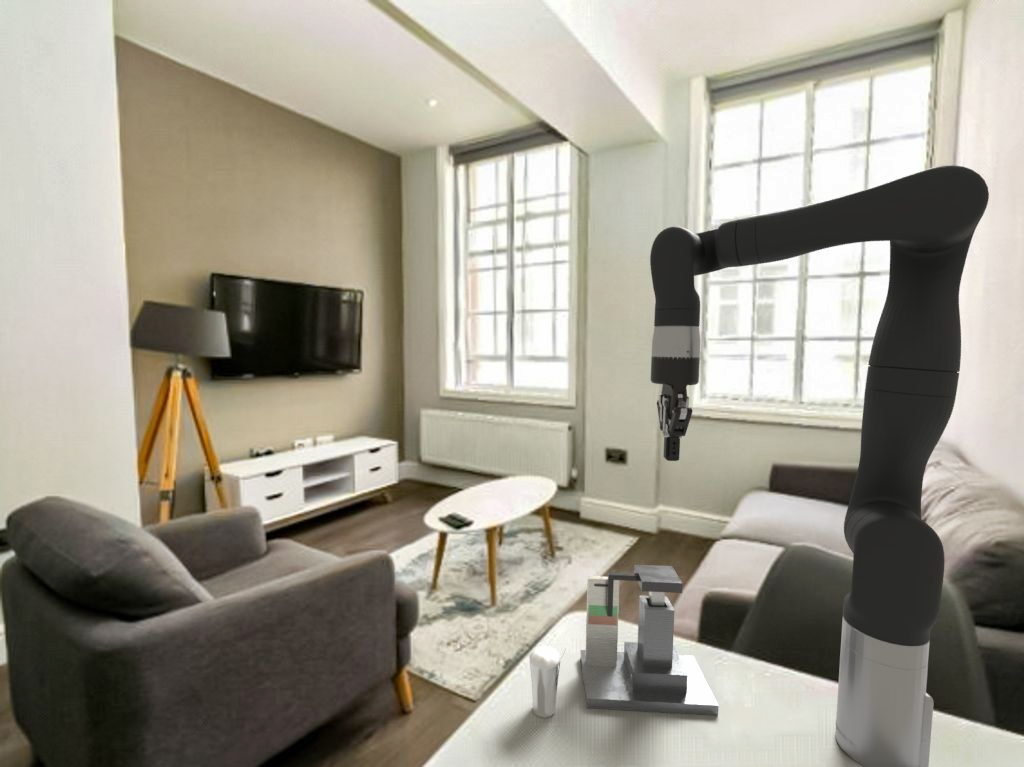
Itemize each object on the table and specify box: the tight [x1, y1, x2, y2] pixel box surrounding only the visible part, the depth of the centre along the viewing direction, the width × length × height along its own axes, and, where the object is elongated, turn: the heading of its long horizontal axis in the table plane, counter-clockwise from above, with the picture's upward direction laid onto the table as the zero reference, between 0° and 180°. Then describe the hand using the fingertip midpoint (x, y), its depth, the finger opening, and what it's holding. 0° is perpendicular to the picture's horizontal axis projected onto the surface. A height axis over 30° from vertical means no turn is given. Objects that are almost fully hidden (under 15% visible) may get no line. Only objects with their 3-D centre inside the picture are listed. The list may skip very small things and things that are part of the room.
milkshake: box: [528, 645, 567, 719], centre depth 73 cm, size 4×5×10 cm
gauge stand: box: [580, 575, 719, 716], centre depth 79 cm, size 19×12×16 cm, turn 87°
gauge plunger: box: [607, 564, 683, 617], centre depth 79 cm, size 10×6×12 cm, turn 87°
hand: (671, 459), depth 83 cm, fingers closed
